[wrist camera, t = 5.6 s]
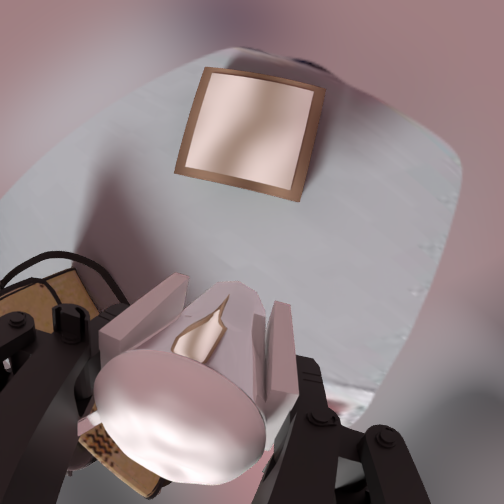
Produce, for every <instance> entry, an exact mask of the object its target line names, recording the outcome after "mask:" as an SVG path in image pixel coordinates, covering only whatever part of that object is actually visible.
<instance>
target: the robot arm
mask: <svg viewBox="0 0 504 504" xmlns="http://www.w3.org/2000/svg"><path fill="white" fill-rule="evenodd" d="M188 282H189V276H186V275H183V274H180V273H176V272H175V273H173V274H172V275H171V276H169V277H168V278H167V279H165V280H164V281H163V282H161V283H160V284H159V285H157V286H156V287H155V288H153V289H152V290H151V291H149V292H148V293H147V294H145V295H144V296H143V297H141V298H140V299H139V300H138V301H136V302H135V303H134V304H132V305H131V306H129V305H126V304H124V303H119V304H116V305H112V306H110V307H109V308H107V309H106V310H104V312H102V313H100V314H99V315H98V316H96V317H94V318H93V319H91V320H90V314H89V312H88V311H87V310H86V309H85V308H84V307H82V306H79V305H76V304H70V303H63V304H59V305H56V306H54V307H52V319H53V330H54V331H53V332H52V333H51V334H50V333H47V332H44V331H41V330H37V329H35V322H34V318H33V317H32V316H31V315H30V314H28V313H26V312H21V311H14V312H10V313H7V314H5V315H3V316H1V317H0V504H56V502H57V499H58V495H59V492H60V489H61V486H62V483H63V480H64V478H65V475H66V472H67V469H68V466H69V464H70V461H71V458H72V456H73V453H74V451H75V448H76V446H77V443H78V441H79V438H80V436H81V435H80V436H78V420H80V419H82V418H83V417H85V416H87V415H89V414H90V412H91V410H92V408H93V406H94V403H95V399H94V382H95V379H96V377H97V375H98V373H99V372H100V371H101V369H102V368H103V367H104V366H105V365H106V364H107V363H108V362H109V361H110V360H111V359H113V358H114V357H116V356H117V355H119V354H120V353H122V352H123V351H124V350H126V349H127V348H129V347H130V346H132V345H133V344H134V343H136V342H137V341H139V340H140V339H142V338H143V337H144V336H146V335H147V334H149V333H150V332H152V331H153V330H154V329H156V328H157V327H159V326H160V325H162V324H163V323H165V322H166V321H168V320H169V319H171V318H172V317H174V316H175V315H177V314H178V313H179V312H181V311H182V310H183V309H184V304H185V298H186V293H187V287H188ZM7 358H8V359H9V362H10V366H11V368H9V369H5V368H4V365H3V361H4V360H6V359H7ZM265 408H266V445H265V449H264V450H266V451H269V450H270V449H271V447H272V445H273V444H274V453H273V455H272V457H271V458H270V460H269V461H268V463H267V465H266V466H265V468H264V469H263V471H262V472H263V473H264V475H263V477H262V480H261V482H260V485H259V487H258V489H257V492H256V494H255V496H254V499H253V501H252V504H431V503H430V500H429V498H428V495H427V492H426V490H425V487H424V485H423V483H422V481H421V478H420V476H419V473H418V471H417V469H416V466H415V464H414V462H413V459H412V457H411V455H410V453H409V450H408V448H407V446H406V444H405V442H404V439H403V438H402V436H401V435H400V433H399V432H397V431H396V430H395V429H393V428H391V427H389V426H386V425H373V426H371V427H370V428H368V430H367V431H366V432H365V433H362V432H359V431H355V430H352V429H349V428H347V427H344V426H342V425H341V422H340V418H339V417H338V415H337V414H336V413H335V412H334V411H333V410H331V409H330V408H328V404H327V399H326V394H325V390H324V385H323V380H322V377H321V371H320V367H319V365H318V364H317V363H316V362H315V360H314V359H313V358H308V357H303V356H299V355H296V354H295V344H294V334H293V325H292V316H291V307H290V304H286V303H282V302H278V301H275V302H274V305H273V308H272V312H271V315H270V318H269V321H268V324H267V327H266V331H265Z"/></svg>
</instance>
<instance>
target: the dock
mask: <svg viewBox="0 0 504 504" xmlns="http://www.w3.org/2000/svg"><path fill="white" fill-rule="evenodd" d="M325 92H326V89H325V88H321V87H317V86H314V85H310V84H306V83H302V82H298V81H294V80H289V79H285V78H280V77H275V76H270V75H264V74H259V73H253V72H246V71H239V70H232V69H223V68H213V67H205V68H204V71H203V74H202V77H201V80H200V83H199V86H198V89H197V92H196V95H195V98H194V101H193V104H192V108H191V111H190V114H189V118H188V121H187V125H186V128H185V132H184V135H183V139H182V143H181V147H180V150H179V154H178V158H177V162H176V166H175V171H174V173H175V174H179V175H184V176H188V177H193V178H198V179H202V180H207V181H212V182H217V183H221V184H226V185H230V186H234V187H239V188H243V189H247V190H251V191H256V192H260V193H264V194H268V195H272V196H276V197H279V198H283V199H287V200H291V201H295V202H300V199H301V195H302V191H303V187H304V183H305V179H306V175H307V171H308V167H309V163H310V158H311V154H312V150H313V146H314V141H315V137H316V133H317V128H318V124H319V120H320V115H321V111H322V106H323V101H324V97H325Z"/></svg>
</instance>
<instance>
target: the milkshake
mask: <svg viewBox="0 0 504 504" xmlns="http://www.w3.org/2000/svg"><path fill="white" fill-rule="evenodd" d="M265 316H266V312H265V309H264V306H263V304H262V302H261V300H260V297H259V295H258V293H257V291H255V290H253V289H251V288H250V287H248V286H246V285H245V284H243V283H242V282H240V281H225V282H217V283H215V284H214V285H213V286H212V287H211V288H209V289H208V290H207V291H206V292H204V293H203V294H202V295H201V296H199V297H198V298H197V299H196V300H194V301H193V302H192V303H191V304H189V305H188V306H187V307H186V308H184V309H183V310H182V311H181V312H179V313H178V314H177V315H175V316H174V317H172V318H171V319H169V320H168V321H166V322H165V323H163V324H162V325H160V326H159V327H157V328H156V329H154V330H153V331H152V332H150V333H149V334H147V335H146V336H144V337H143V338H142V339H140V340H139V341H137V342H136V343H134V344H133V345H132V346H130V347H129V348H127V349H126V350H124V351H123V352H122V353H120V354H119V355H117V356H116V357H114V358H113V359H111V360H110V361H109V362H108V363H107V364H106V365H105V366H104V367H103V368H102V369H101V371H100V372H99V373H98V375H97V377H96V379H95V382H94V399H95V403H96V406H97V410H96V411H94V412H92V413H91V414H89V415H87V416H85V417H83V418H82V419H80V420H78V436H80V435H82V434H84V433H85V432H87V431H89V430H90V429H92V428H94V427H96V426H97V425H99V424H101V423H102V424H103V426H104V428H105V430H106V431H107V433H108V434H109V435H110V437H111V438H112V439H113V440H114V441H115V443H116V444H117V445H118V447H119V448H120V449H121V450H122V451H123V453H124V454H125V455H127V456H128V457H129V458H130V459H132V460H134V461H135V462H137V463H138V464H140V465H142V466H143V467H145V468H147V469H148V470H150V471H152V472H154V473H155V474H157V475H159V476H161V477H163V478H165V479H167V480H170V481H174V482H181V483H194V484H203V485H219V484H223V483H226V482H229V481H232V480H234V479H235V478H237V477H239V476H240V475H242V474H243V473H244V472H245V471H247V470H248V469H250V468H251V467H252V466H253V465H254V464H256V463H257V462H258V461H259V459H260V458H261V456H262V455H263V452H264V449H265V445H266V408H265Z"/></svg>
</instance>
